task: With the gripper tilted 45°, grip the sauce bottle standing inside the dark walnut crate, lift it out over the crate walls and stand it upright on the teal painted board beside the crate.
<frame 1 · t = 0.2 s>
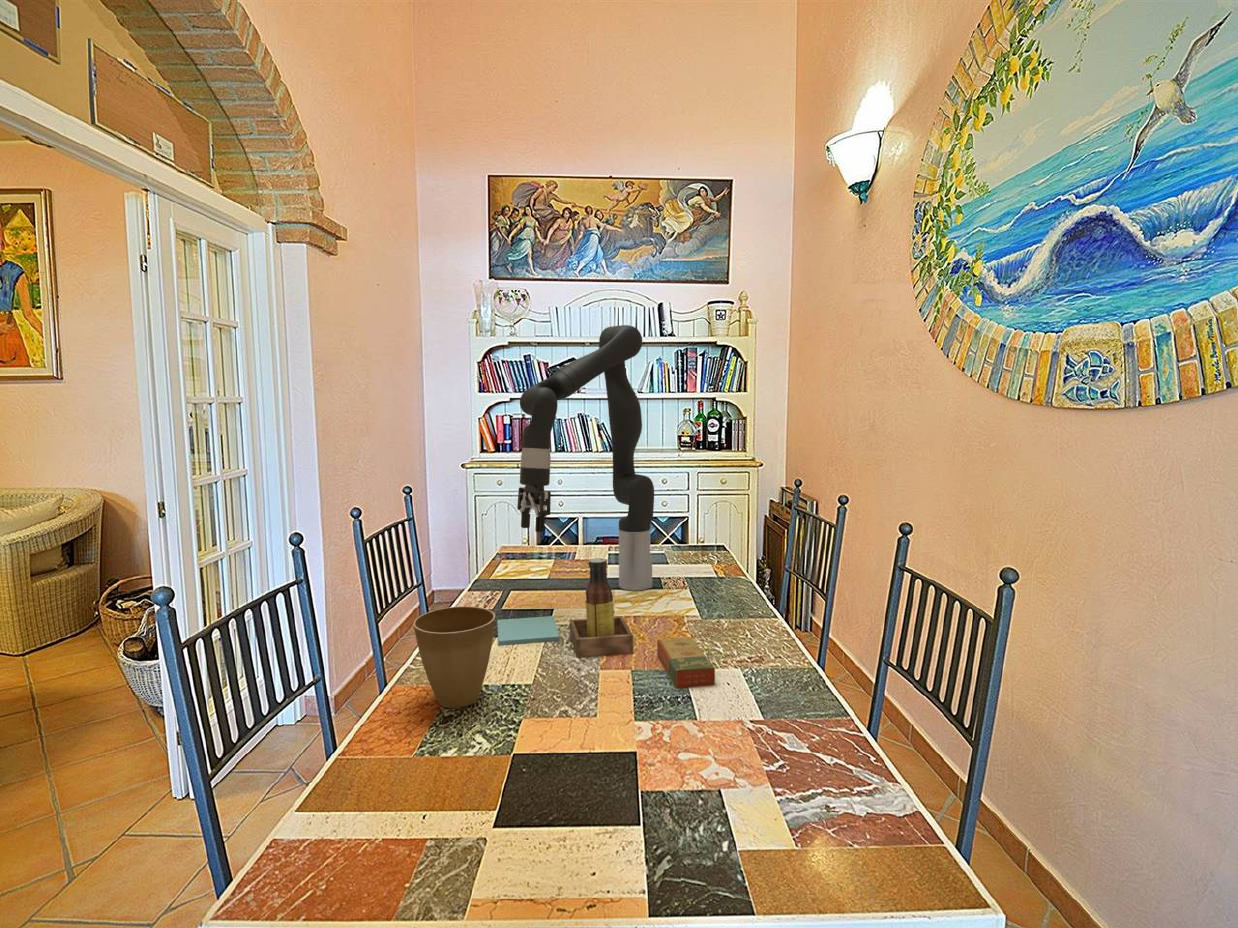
hand: (532, 529, 171), 22 cm above the table, tool pointing down, fingers open, 8 cm apart
carton: (684, 672, 140), on the table
teal board: (527, 631, 162), on the table
sauce bottle: (600, 644, 154), resting in walnut crate
walnut crate: (600, 644, 154), on the table
plant pot: (457, 699, 128), on the table
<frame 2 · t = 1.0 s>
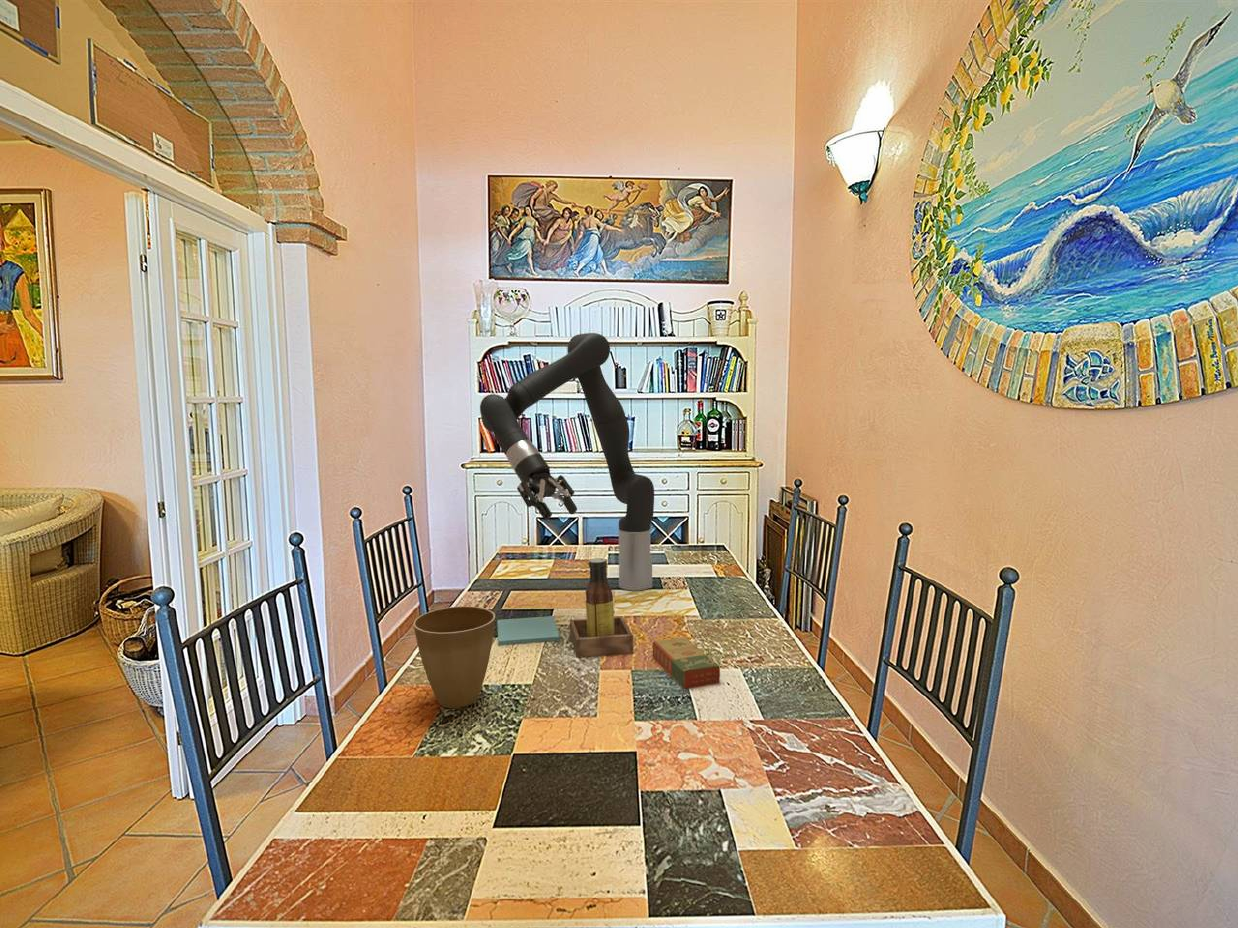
hand: (562, 514, 158), 29 cm above the table, tool tilted 45°, fingers open, 8 cm apart
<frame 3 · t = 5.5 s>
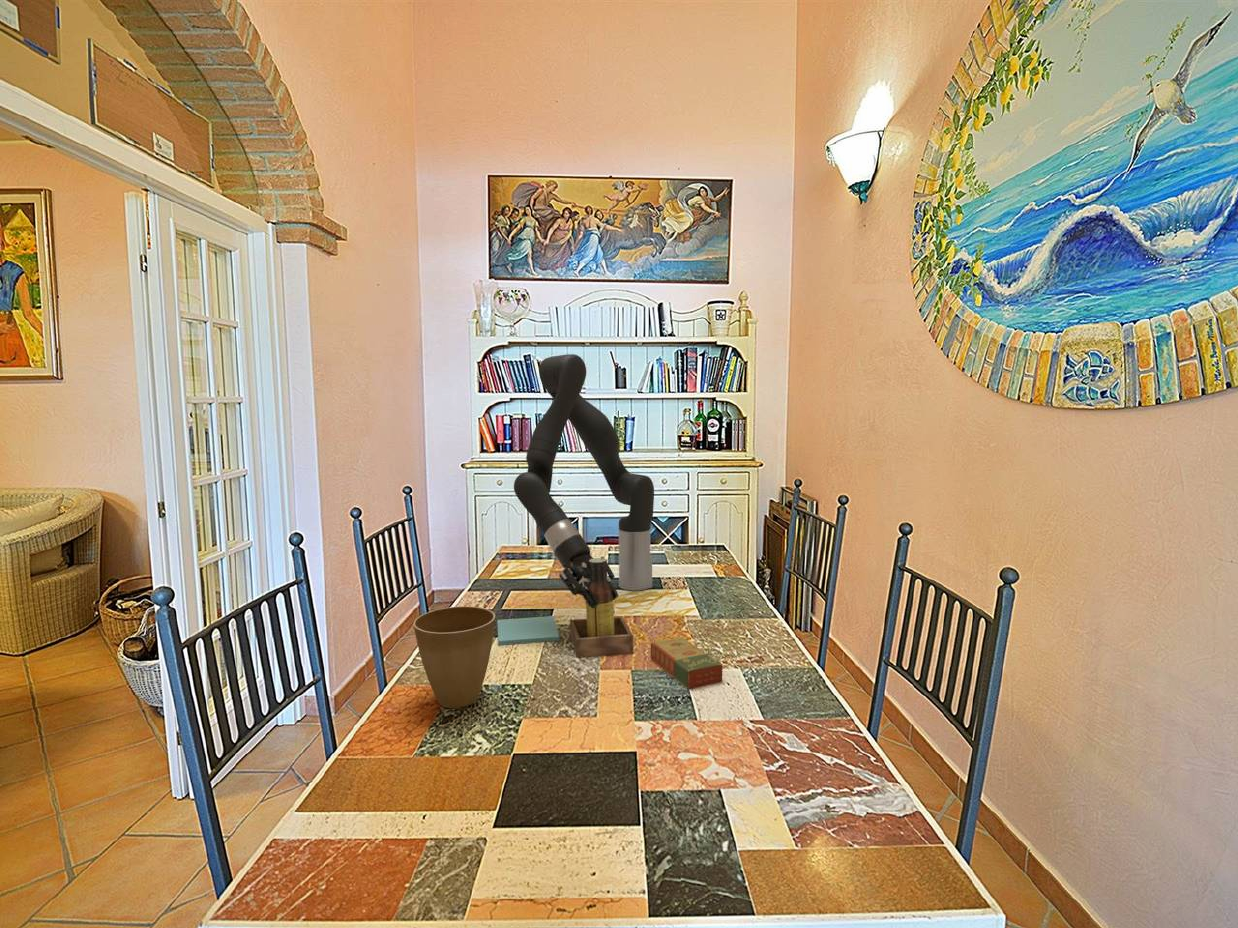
hand: (605, 601, 152), 10 cm above the table, tool tilted 45°, fingers closed on sauce bottle, 6 cm apart
sauce bottle: (600, 644, 154), resting in walnut crate, touching gripper
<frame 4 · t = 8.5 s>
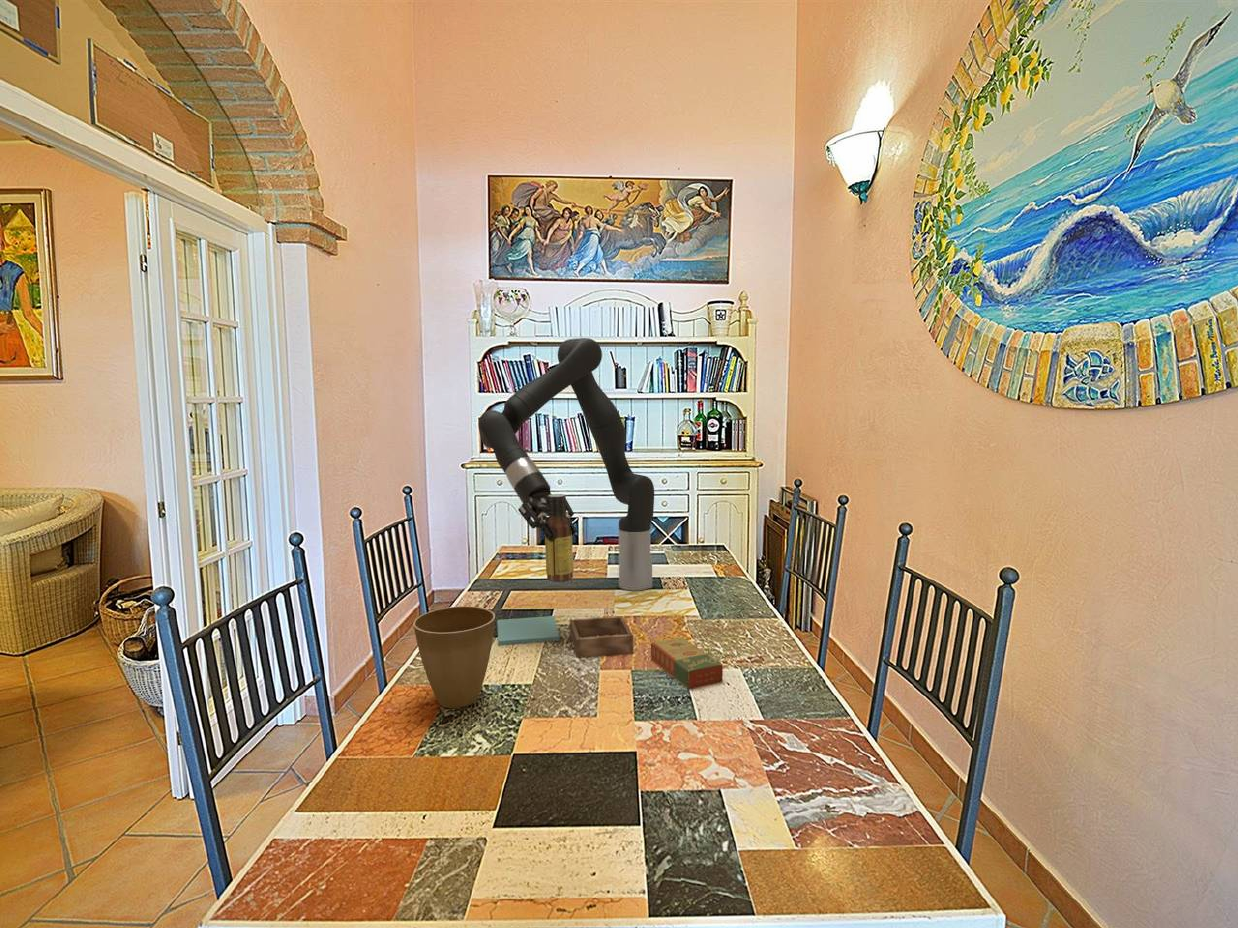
hand: (564, 536, 154), 25 cm above the table, tool tilted 45°, fingers closed on sauce bottle, 6 cm apart
sauce bottle: (559, 579, 156), point 14 cm above the table, touching gripper
everything else where it was.
when the fingers open (13 cm above the table, at t = 11.8 s): sauce bottle drops 1 cm, resting on teal board.
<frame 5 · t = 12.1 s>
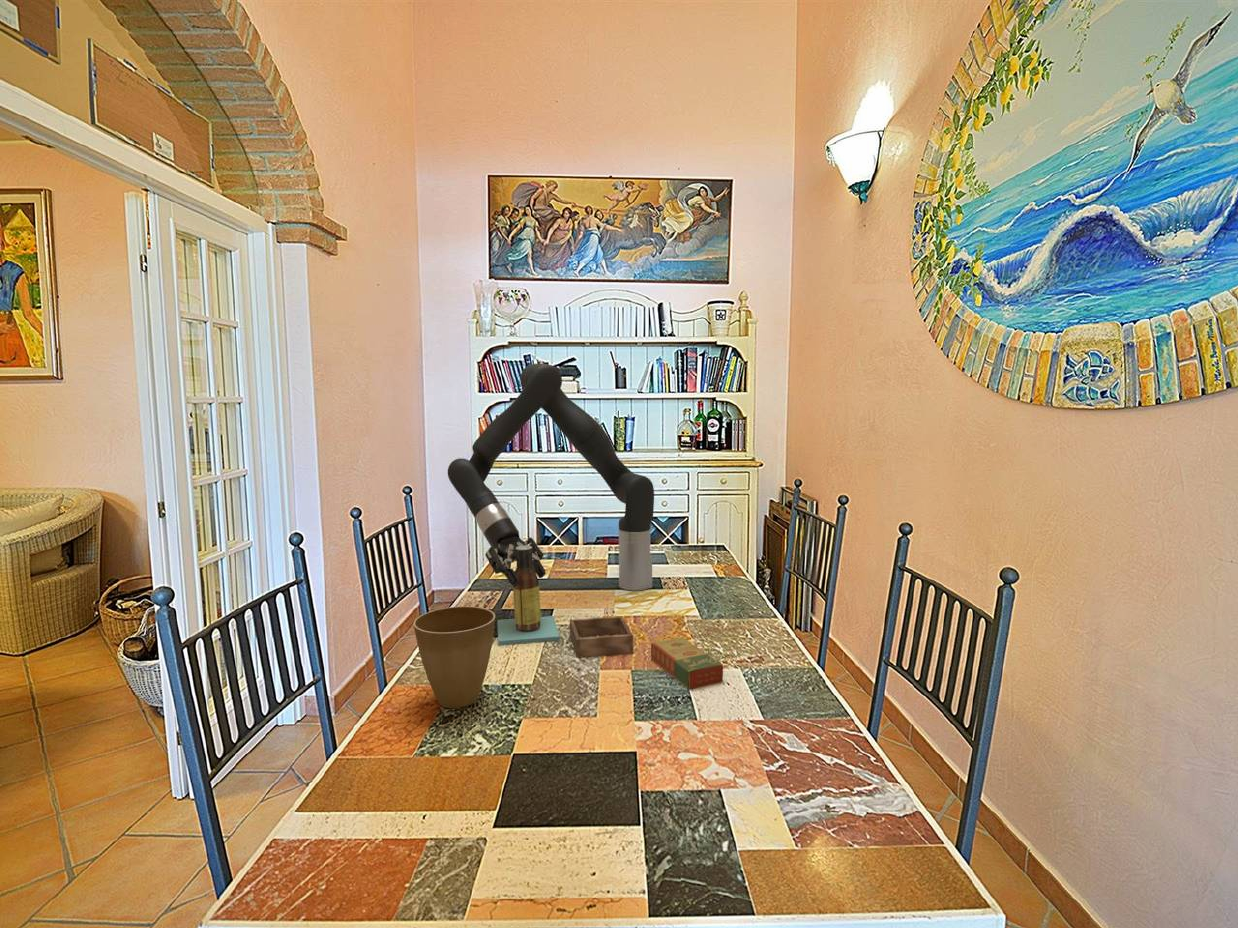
hand: (530, 580, 159), 13 cm above the table, tool tilted 45°, fingers open, 8 cm apart
sauce bottle: (527, 628, 162), point 1 cm above the table, touching teal board
everything else where it was.
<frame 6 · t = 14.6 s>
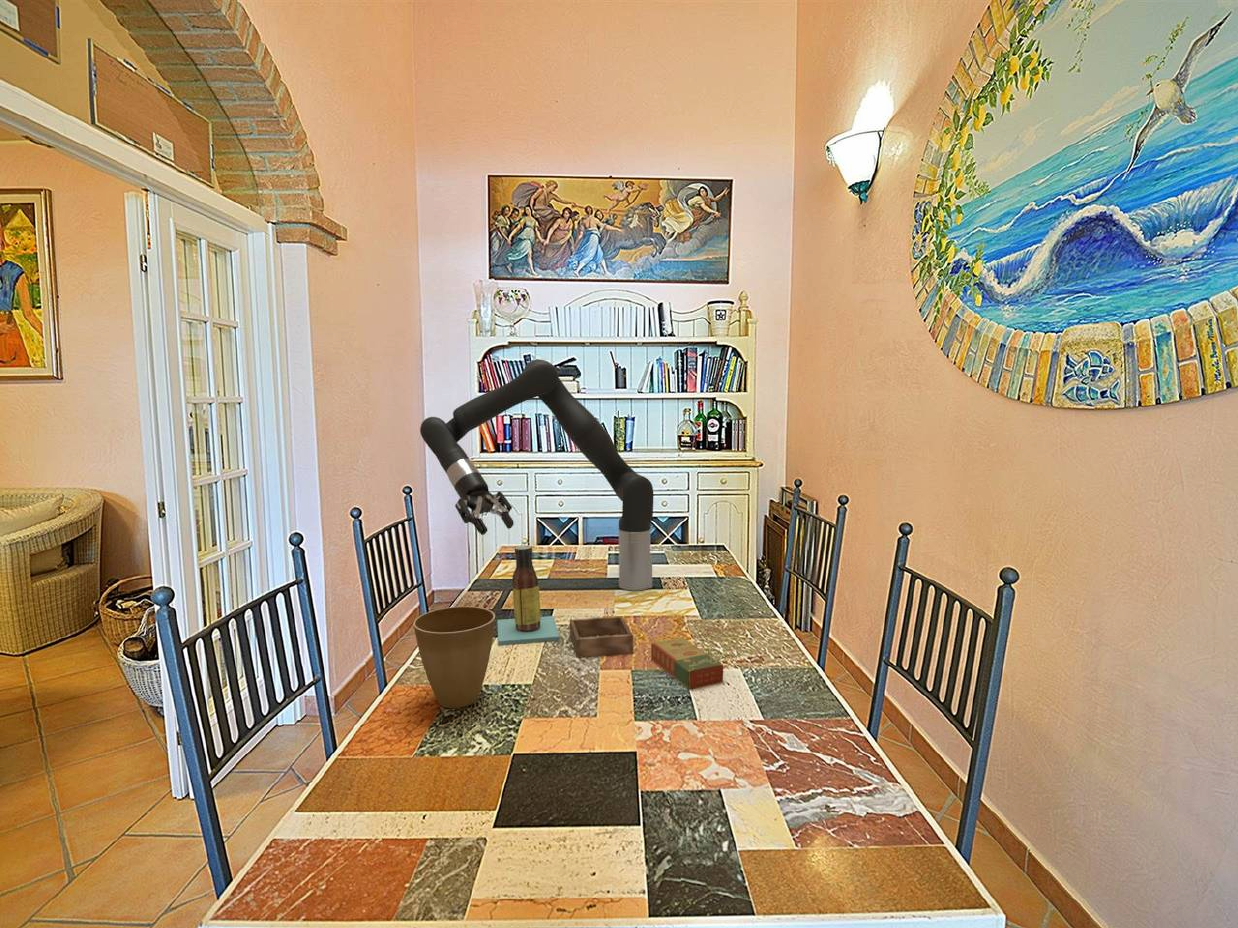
hand: (498, 529, 167), 23 cm above the table, tool tilted 45°, fingers open, 8 cm apart
nothing on the table moved.
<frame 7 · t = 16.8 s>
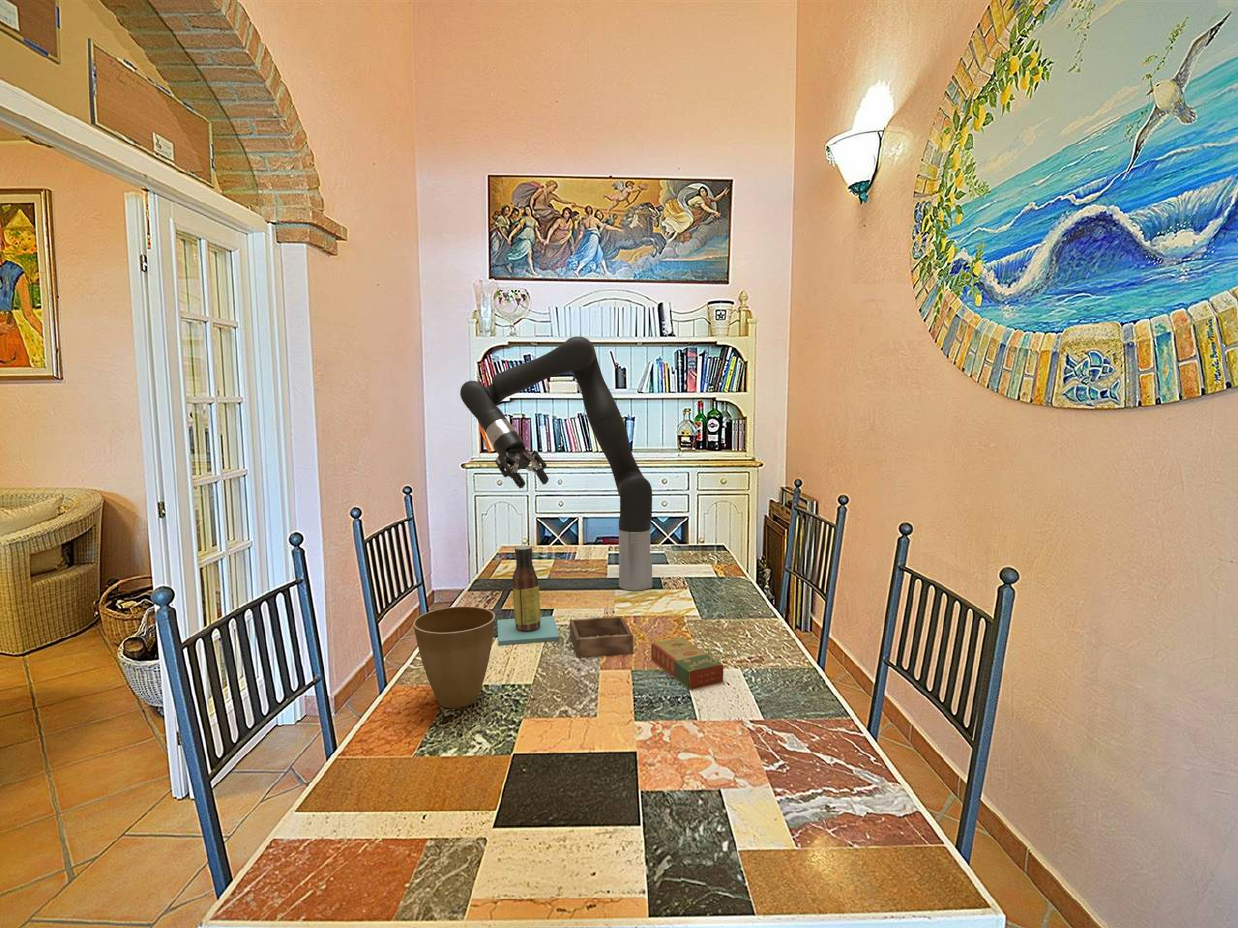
hand: (534, 484, 179), 33 cm above the table, tool tilted 45°, fingers open, 8 cm apart
nothing on the table moved.
at the end: sauce bottle inside the target area on the teal board (0.2 cm from its centre), point 0.8 cm above the teal board's base; sauce bottle tilted 0°; the gripper is holding nothing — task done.
